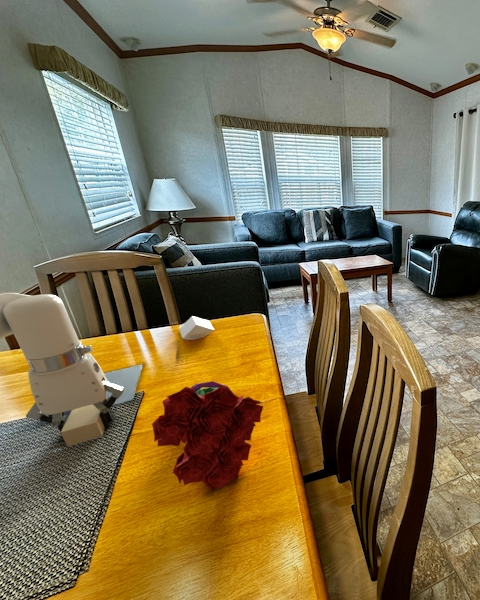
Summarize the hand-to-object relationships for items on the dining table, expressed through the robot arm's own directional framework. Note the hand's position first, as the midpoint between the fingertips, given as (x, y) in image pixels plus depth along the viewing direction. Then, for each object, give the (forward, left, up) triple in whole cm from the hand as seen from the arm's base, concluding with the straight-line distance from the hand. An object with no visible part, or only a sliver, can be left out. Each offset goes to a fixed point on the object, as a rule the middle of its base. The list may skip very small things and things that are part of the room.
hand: (90, 429), depth 70 cm
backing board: (-1, +16, -1) cm, 16 cm away
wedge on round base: (+20, +39, -1) cm, 44 cm away
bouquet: (+22, -15, -1) cm, 27 cm away
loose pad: (0, 0, -1) cm, 1 cm away
